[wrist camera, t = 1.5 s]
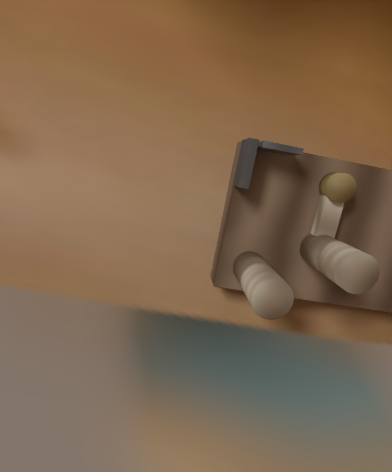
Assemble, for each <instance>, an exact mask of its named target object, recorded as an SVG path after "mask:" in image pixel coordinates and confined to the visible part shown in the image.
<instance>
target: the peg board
mask: <svg viewBox="0 0 392 472" xmlns="http://www.w3.org/2000/svg"><path fill="white" fill-rule="evenodd" d="M303 150H304V149H302V148H297V147H292V146H287V145H282V144H277V143H272V142H267V141H261V142H259V140H257V139H252V138H248V139H245V140H242V142H238V143H237V148H236V153H235V158H234V163H233V168H232V172H231V177H230V182H229V187H228V192H227V197H226V202H225V207H224V212H223V217H222V222H221V227H220V232H219V237H218V242H217V247H216V252H215V256H214V261H213V266H212V271H211V279H212V282H213V285H214V287H221V288H228V289H235V290H241V291H244V293H245V295H246V297H247V298H248V300H249V302H250V304H251V306H252V308H253V309H254V311H255V312H256V314H257V315H259V316H260V317H262V318H264V319H268V320H274V319H278V318H281V317H283V316H284V315H286V314H287V313H288V312H289V311H290V309H291V307H292V305H293V302H294V298H296V299H302V300H309V301H316V302H323V303H329V304H336V305H343V306H350V307H356V308H363V309H370V310H377V311H383V312H390V313H392V170H388V169H383V168H378V167H373V166H368V165H363V164H358V163H353V162H348V161H343V160H338V159H333V158H328V157H323V156H318V155H313V154H308V153H303ZM332 172H335V173H347V174H350V175H351V176H352V177H353V178H354V179H355V181H356V186H357V187H356V192H355V194H354V196H353V197H352V198H351V199H350V200H349V201H347V202H344V206H343V210H342V213H341V217H340V220H339V224H338V228H337V231H336V235H335V239H337V240H339V241H341V242H343V243H345V244H348V245H350V246H352V247H354V248H356V249H358V250H360V251H362V252H365V253H367V254H369V255H371V256H372V257H374V258H375V259H376V260H377V262H378V264H379V268H380V274H379V278H378V280H377V282H376V284H375V285H374V286H373V287H372V288H371V289H370V290H368V291H367V292H364V293H361V294H351V293H348V292H346V291H345V290H344V289H342V288H341V287H340V286H338V285H337V284H336V283H334V282H333V281H331V280H330V279H329V278H327V277H326V276H325V275H323V274H322V273H321V272H319V271H318V270H317V269H315V268H314V267H313V266H311V265H310V264H309V263H307V262H306V261H305V260H304V259H303V258H302V257H301V254H300V245H301V242H302V240H303V239H304V238H305V237H306V236H307V235H309V234H311V230H312V226H313V222H314V218H315V215H316V211H317V207H318V203H319V199H320V196H321V195H320V192H319V183H320V181H321V179H322V178H323V177H324V176H325V175H326V174H328V173H332Z"/></svg>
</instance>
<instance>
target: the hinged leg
mask: <svg viewBox="0 0 392 472" xmlns="http://www.w3.org/2000/svg"><path fill="white" fill-rule="evenodd" d="M356 187H357V186H356V181H355V179H354V178H353V177H352V176H351V175H350V174H347V173H335V172H332V173H328V174H326V175H325V176H324V177H323V178H322V179H321V181H320V183H319V192H320V195H321V196H320V199H319V203H318V207H317V211H316V215H315V218H314V222H313V226H312V230H311V234H309V235H307V236H306V237H305V238H304V239H303V240H302V242H301V245H300V254H301V257H302V258H303V259H304V260H305V261H306V262H307V263H309V264H310V265H311V266H313V267H314V268H315V269H317V270H318V271H319V272H321V273H322V274H323V275H325V276H326V277H327V278H329V279H330V280H331V281H333V282H334V283H336V284H337V285H338V286H340V287H341V288H342V289H344V290H345V291H346V292H348V293H351V294H361V293H364V292H367V291H368V290H370V289H371V288H372V287H373V286H374V285H375V284H376V282H377V280H378V278H379V274H380V268H379V264H378V262H377V260H376V259H375V258H374V257H372V256H371V255H369V254H367V253H365V252H362V251H360V250H358V249H356V248H354V247H352V246H350V245H348V244H345V243H343V242H341V241H339V240H337V239H335V235H336V231H337V228H338V224H339V220H340V217H341V213H342V210H343V206H344V202H347V201H349V200H350V199H351V198H352V197H353V196H354V194H355V192H356Z"/></svg>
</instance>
